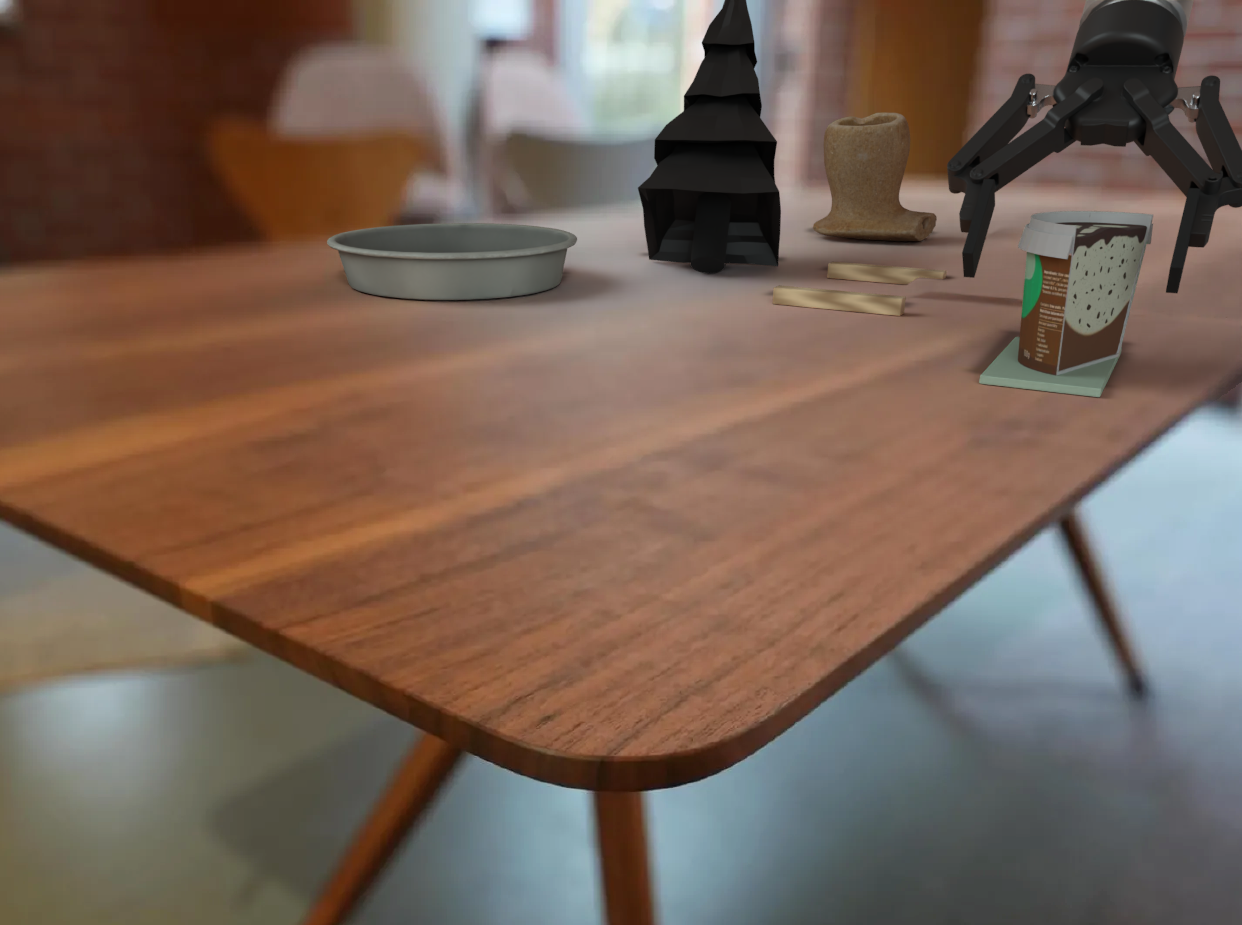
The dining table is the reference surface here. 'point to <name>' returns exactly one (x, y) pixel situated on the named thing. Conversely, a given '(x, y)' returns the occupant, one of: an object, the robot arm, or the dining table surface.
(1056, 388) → the mat
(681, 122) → the decorative tree
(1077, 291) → the food container
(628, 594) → the dining table surface
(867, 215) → the stone cup
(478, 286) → the cake pan
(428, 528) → the dining table surface
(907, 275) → the rack
